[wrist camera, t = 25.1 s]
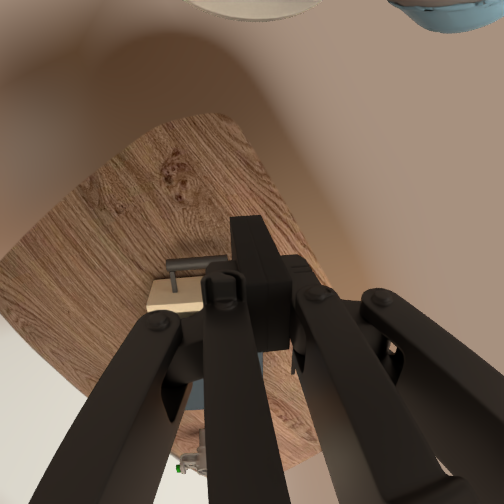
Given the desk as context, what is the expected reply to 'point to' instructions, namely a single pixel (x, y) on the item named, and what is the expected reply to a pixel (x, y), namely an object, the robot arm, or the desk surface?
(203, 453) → the mechanical component
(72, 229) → the desk surface
